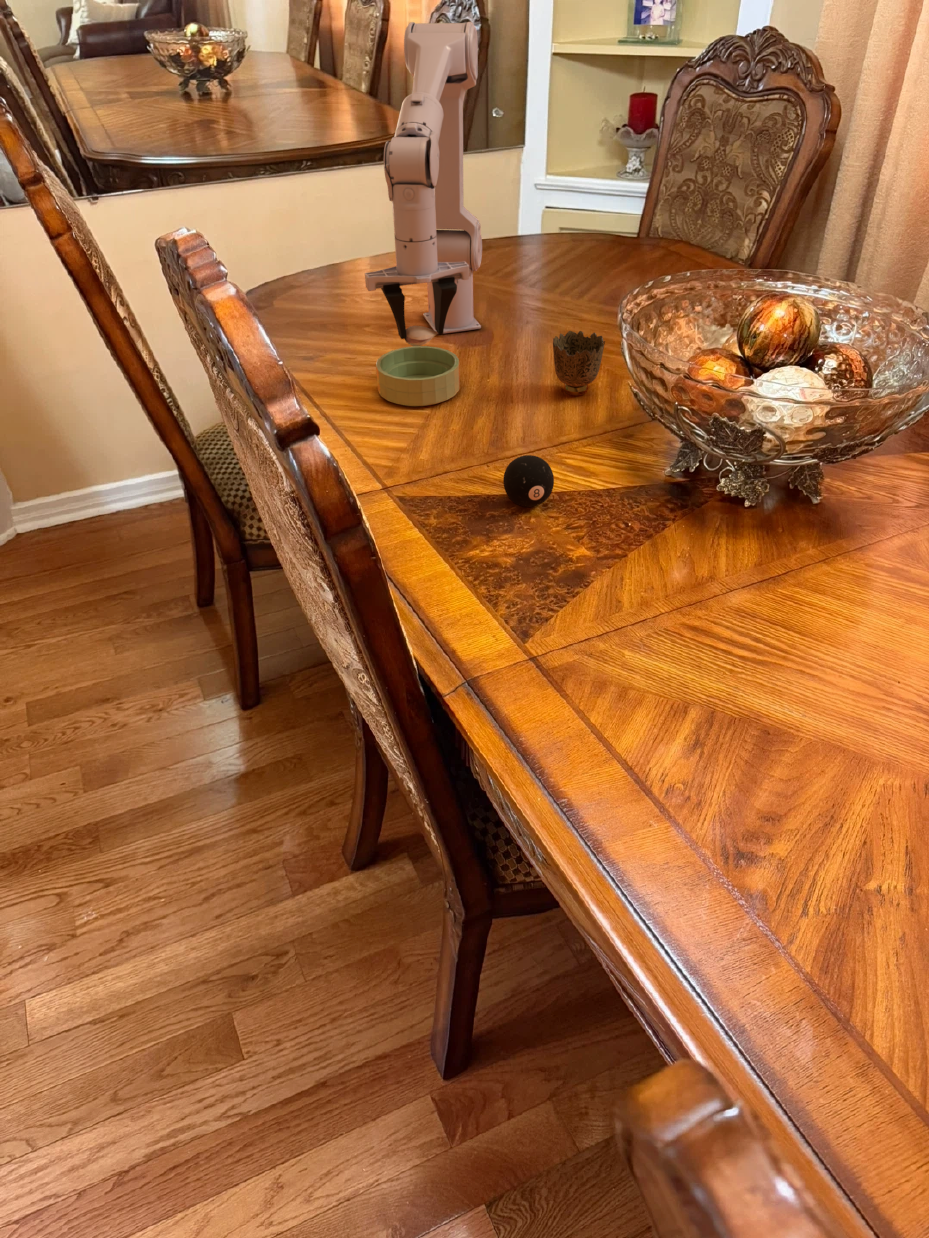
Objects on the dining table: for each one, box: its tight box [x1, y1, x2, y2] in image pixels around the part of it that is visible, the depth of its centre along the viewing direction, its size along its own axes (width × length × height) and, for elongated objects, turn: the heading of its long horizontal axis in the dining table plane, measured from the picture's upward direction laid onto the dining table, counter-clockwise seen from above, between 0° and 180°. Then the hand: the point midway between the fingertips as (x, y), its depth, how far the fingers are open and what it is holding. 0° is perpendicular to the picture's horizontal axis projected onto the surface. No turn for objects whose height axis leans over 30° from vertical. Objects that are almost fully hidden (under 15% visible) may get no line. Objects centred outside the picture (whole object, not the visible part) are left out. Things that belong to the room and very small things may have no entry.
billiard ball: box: [502, 454, 555, 508], centre depth 107 cm, size 6×6×6 cm
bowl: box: [375, 345, 461, 407], centre depth 132 cm, size 12×12×4 cm
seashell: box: [404, 325, 438, 347], centre depth 129 cm, size 4×5×2 cm
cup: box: [552, 330, 606, 397], centre depth 130 cm, size 8×7×8 cm
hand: (420, 334), depth 129 cm, fingers closed on seashell, 5 cm apart
